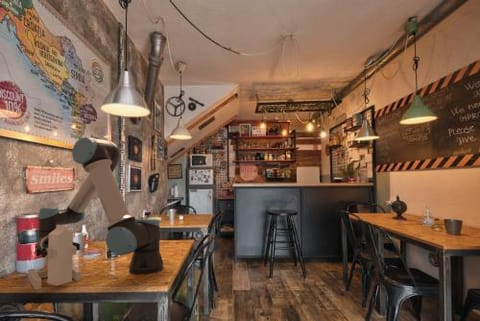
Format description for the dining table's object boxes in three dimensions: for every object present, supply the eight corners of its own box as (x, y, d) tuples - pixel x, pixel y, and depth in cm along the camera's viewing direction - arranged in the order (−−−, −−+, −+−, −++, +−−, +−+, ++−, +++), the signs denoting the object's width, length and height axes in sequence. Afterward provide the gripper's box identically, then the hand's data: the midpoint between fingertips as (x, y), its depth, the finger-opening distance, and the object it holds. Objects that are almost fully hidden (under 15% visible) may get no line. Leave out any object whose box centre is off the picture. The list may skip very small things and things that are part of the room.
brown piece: (28, 277, 127) (28, 269, 127) (69, 269, 138) (70, 262, 138) (35, 289, 112) (35, 280, 112) (81, 280, 123) (81, 271, 123)
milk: (57, 285, 111) (58, 226, 112) (47, 283, 113) (48, 225, 115) (72, 280, 116) (73, 224, 118) (62, 278, 119) (63, 223, 120)
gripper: (77, 249, 136) (92, 257, 119) (22, 257, 122) (29, 268, 105) (78, 232, 136) (92, 238, 119) (23, 238, 122) (30, 247, 105)
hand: (63, 252), depth 112 cm, fingers closed on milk, 8 cm apart
